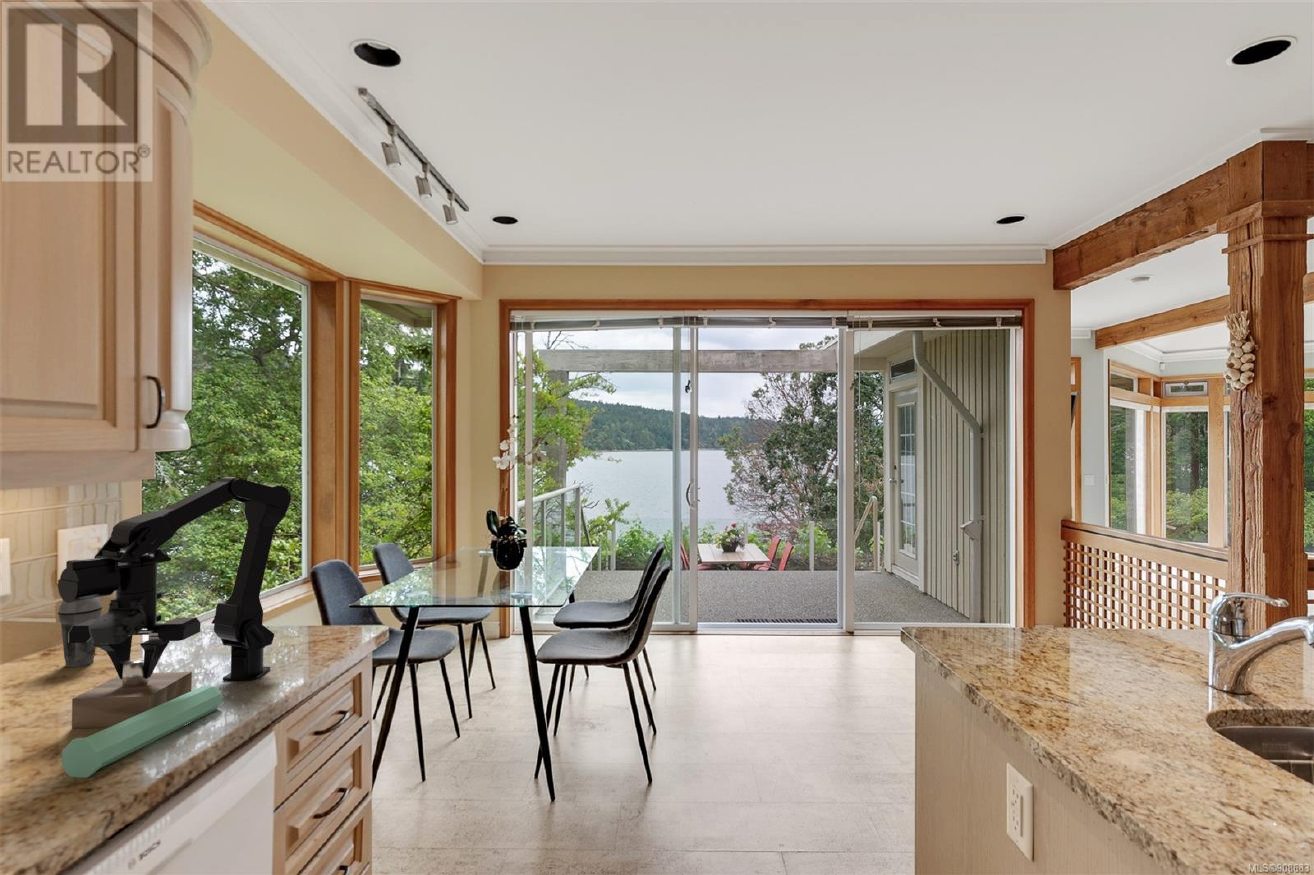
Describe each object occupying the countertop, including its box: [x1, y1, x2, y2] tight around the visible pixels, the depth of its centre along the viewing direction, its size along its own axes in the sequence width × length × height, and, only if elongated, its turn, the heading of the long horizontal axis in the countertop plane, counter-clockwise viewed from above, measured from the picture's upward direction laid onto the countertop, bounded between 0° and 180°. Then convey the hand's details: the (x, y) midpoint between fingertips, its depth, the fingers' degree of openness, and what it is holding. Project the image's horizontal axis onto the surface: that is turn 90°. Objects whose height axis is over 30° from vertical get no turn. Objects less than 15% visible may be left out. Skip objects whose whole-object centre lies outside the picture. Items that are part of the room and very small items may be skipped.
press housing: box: [71, 671, 193, 730], centre depth 116 cm, size 12×12×5 cm
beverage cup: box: [57, 597, 103, 668], centre depth 141 cm, size 7×7×20 cm
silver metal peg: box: [122, 657, 148, 688], centre depth 116 cm, size 4×4×8 cm
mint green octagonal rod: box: [61, 685, 223, 779], centre depth 107 cm, size 6×6×25 cm
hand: (135, 678), depth 116 cm, fingers closed on silver metal peg, 4 cm apart
